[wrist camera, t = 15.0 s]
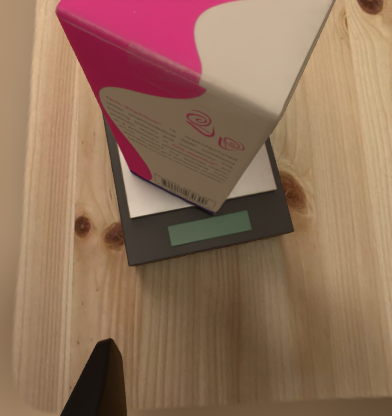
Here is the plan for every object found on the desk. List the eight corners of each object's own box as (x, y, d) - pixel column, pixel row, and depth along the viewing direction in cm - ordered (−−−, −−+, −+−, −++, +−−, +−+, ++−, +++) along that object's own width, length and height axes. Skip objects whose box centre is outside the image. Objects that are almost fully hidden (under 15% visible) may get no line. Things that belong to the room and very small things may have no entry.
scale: (281, 235, 21) (298, 230, 18) (134, 266, 20) (126, 266, 17) (240, 76, 23) (250, 48, 20) (104, 97, 22) (93, 72, 19)
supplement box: (257, 131, 19) (375, -64, 8) (214, 217, 18) (279, 136, 6) (172, 89, 19) (166, -163, 8) (125, 171, 18) (38, 16, 7)
